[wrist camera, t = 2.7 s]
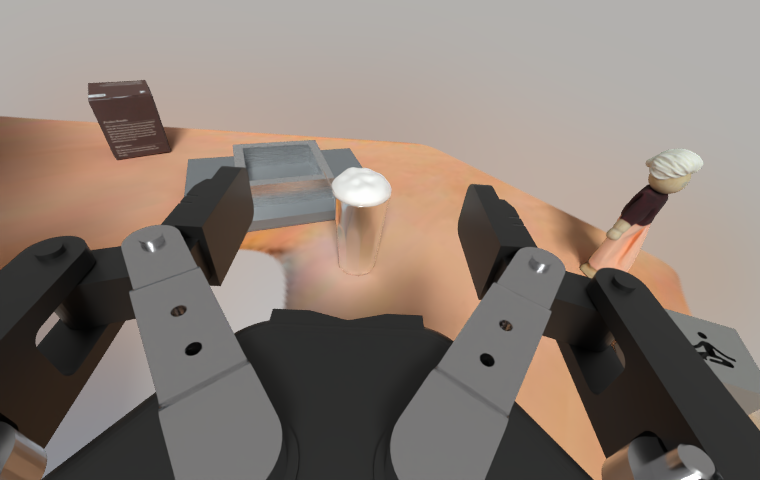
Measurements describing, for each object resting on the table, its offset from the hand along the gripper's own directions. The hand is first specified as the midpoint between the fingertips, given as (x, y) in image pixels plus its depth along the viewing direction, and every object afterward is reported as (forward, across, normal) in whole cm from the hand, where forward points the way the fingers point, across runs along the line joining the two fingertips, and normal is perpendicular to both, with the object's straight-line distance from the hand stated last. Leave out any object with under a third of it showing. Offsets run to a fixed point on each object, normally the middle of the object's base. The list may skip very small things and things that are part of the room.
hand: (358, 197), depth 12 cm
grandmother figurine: (+13, -25, +15) cm, 32 cm away
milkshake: (+12, 0, +15) cm, 19 cm away
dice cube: (+1, -22, +15) cm, 27 cm away
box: (+31, +29, +14) cm, 45 cm away
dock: (+23, +9, +14) cm, 29 cm away
